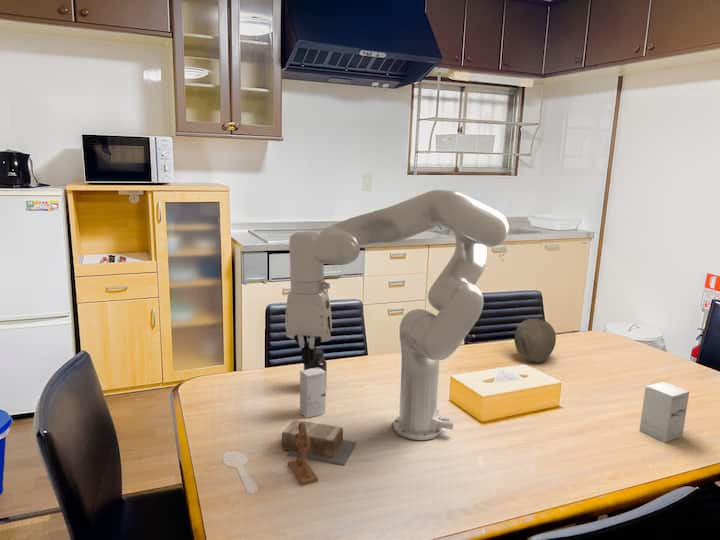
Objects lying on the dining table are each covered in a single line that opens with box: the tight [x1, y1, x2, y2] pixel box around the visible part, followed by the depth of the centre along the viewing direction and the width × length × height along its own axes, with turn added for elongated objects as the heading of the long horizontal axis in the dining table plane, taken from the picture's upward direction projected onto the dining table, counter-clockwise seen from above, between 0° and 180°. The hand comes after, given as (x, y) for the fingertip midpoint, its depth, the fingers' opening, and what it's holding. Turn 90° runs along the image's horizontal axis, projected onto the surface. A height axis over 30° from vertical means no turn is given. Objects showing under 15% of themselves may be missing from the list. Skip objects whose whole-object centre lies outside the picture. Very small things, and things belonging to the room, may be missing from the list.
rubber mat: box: [286, 439, 357, 466], centre depth 125 cm, size 14×10×1 cm
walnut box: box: [281, 419, 344, 458], centre depth 126 cm, size 4×7×13 cm
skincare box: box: [299, 367, 327, 419], centre depth 143 cm, size 6×4×12 cm
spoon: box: [222, 450, 259, 494], centre depth 116 cm, size 5×18×1 cm, turn 29°
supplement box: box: [639, 381, 690, 443], centre depth 135 cm, size 7×7×13 cm
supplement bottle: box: [303, 348, 328, 373], centre depth 158 cm, size 7×7×12 cm
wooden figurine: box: [287, 422, 319, 487], centre depth 114 cm, size 9×4×12 cm, turn 27°
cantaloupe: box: [514, 318, 557, 363], centre depth 185 cm, size 14×14×15 cm
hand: (309, 362), depth 122 cm, fingers closed
